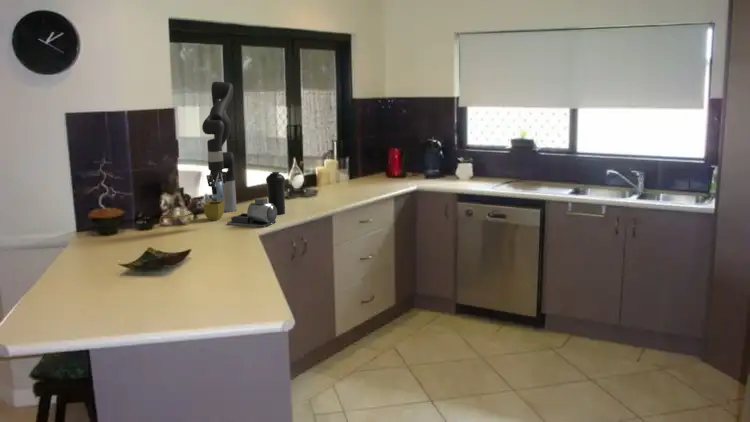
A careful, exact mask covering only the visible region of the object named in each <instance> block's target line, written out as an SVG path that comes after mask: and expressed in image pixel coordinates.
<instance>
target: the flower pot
mask: <svg viewBox="0 0 750 422" xmlns="http://www.w3.org/2000/svg"><path fill="white" fill-rule="evenodd" d="M202 206H203V211H204V215H205V216H206V219H207V220H209V221H218V220H220V219H221V218H222V217H223V215H224V213H225V212H224V202H218V200H217V201H213V200H212V201H207V202H206V203H203V204H202Z"/></svg>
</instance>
